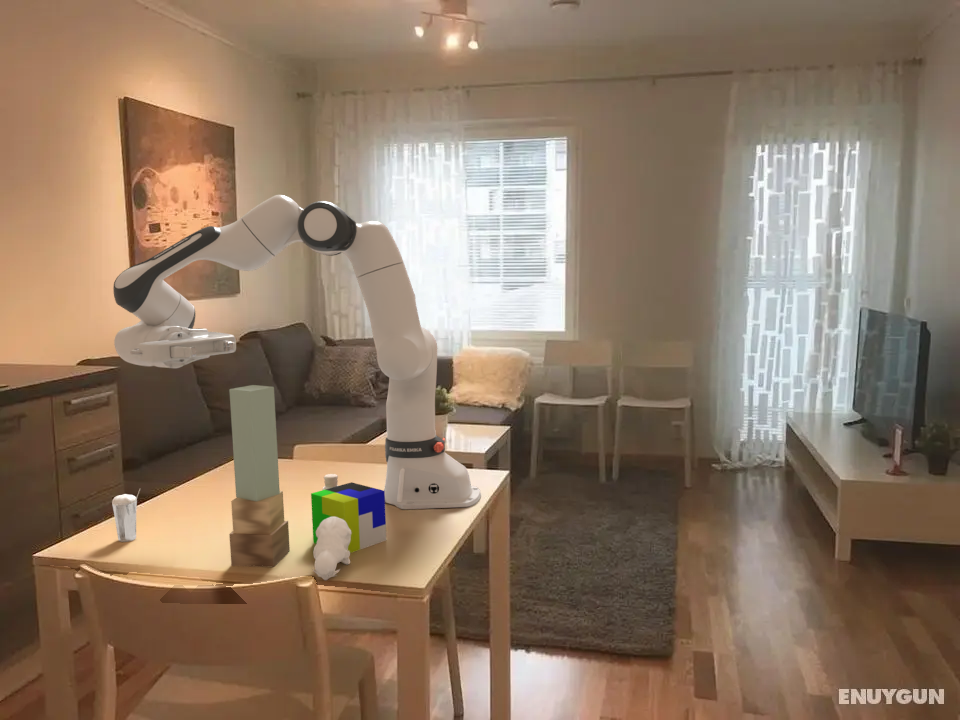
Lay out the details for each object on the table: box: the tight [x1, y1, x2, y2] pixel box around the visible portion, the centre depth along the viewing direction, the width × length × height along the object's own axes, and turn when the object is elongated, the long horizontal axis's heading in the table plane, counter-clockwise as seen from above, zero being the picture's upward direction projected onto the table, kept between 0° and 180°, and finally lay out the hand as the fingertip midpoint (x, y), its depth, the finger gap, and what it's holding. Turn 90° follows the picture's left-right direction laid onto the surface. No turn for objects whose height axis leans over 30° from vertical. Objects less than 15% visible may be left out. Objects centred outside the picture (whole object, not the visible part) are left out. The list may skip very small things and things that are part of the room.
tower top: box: [230, 490, 285, 534], centre depth 152 cm, size 7×7×6 cm
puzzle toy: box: [310, 481, 387, 554], centre depth 161 cm, size 10×10×10 cm
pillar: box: [228, 384, 281, 501], centre depth 151 cm, size 6×6×20 cm
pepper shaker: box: [321, 473, 339, 491], centre depth 169 cm, size 5×5×11 cm
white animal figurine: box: [312, 517, 351, 581], centre depth 146 cm, size 6×8×12 cm
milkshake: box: [111, 488, 141, 543], centre depth 165 cm, size 4×5×10 cm
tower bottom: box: [229, 520, 291, 568], centre depth 153 cm, size 8×8×6 cm
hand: (213, 349), depth 166 cm, fingers open, 8 cm apart
